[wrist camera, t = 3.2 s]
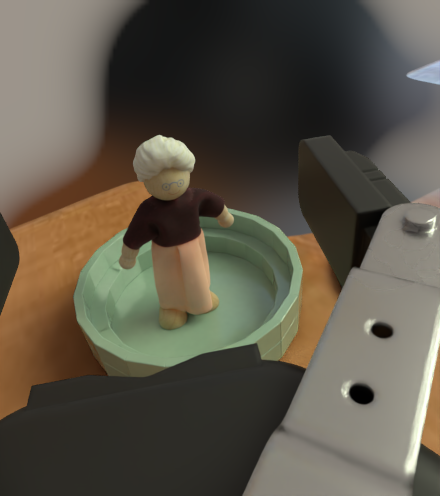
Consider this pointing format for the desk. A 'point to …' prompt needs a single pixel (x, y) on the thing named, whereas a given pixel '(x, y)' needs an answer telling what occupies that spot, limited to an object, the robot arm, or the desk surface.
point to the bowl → (197, 326)
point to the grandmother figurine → (173, 230)
